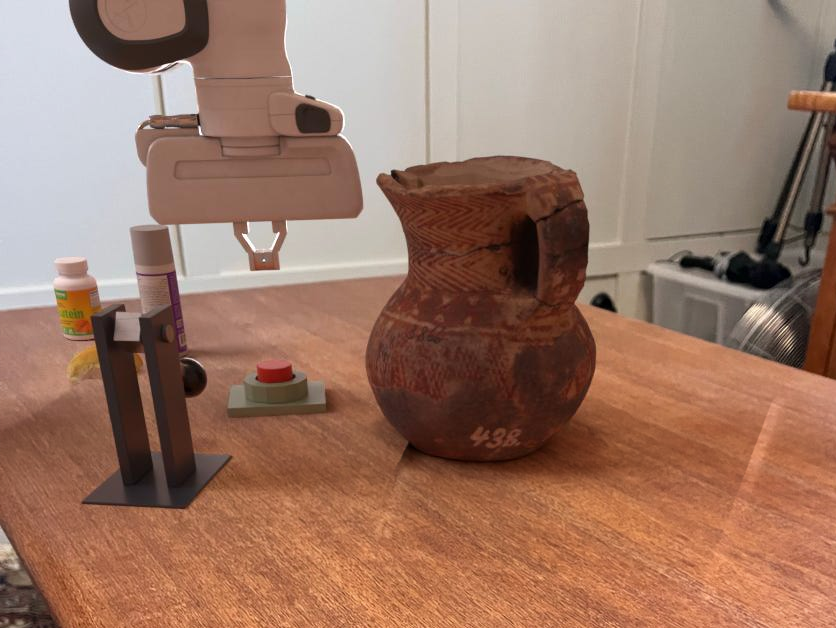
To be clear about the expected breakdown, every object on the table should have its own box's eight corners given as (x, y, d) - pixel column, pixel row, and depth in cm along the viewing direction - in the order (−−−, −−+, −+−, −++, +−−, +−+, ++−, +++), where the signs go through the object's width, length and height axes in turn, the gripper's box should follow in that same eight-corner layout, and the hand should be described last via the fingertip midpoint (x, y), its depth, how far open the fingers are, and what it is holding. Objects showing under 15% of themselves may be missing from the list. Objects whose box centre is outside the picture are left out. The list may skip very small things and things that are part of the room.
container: (171, 346, 131) (152, 223, 123) (195, 352, 129) (177, 226, 121) (142, 355, 128) (120, 228, 120) (166, 361, 125) (145, 232, 118)
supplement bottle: (56, 340, 134) (39, 263, 129) (76, 329, 139) (61, 255, 134) (94, 341, 133) (79, 264, 128) (113, 331, 138) (99, 256, 133)
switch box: (229, 429, 104) (224, 391, 102) (233, 404, 111) (228, 368, 109) (327, 423, 105) (324, 386, 103) (325, 400, 112) (322, 364, 110)
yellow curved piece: (148, 366, 123) (143, 333, 121) (136, 389, 116) (129, 353, 114) (78, 368, 123) (71, 335, 120) (61, 391, 115) (53, 356, 113)
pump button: (257, 386, 104) (255, 369, 104) (258, 376, 108) (256, 360, 107) (293, 385, 105) (291, 368, 104) (293, 375, 108) (291, 358, 107)
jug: (333, 461, 96) (310, 173, 83) (419, 396, 113) (411, 148, 100) (557, 492, 90) (570, 186, 77) (613, 418, 107) (631, 157, 94)
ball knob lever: (174, 402, 95) (177, 365, 96) (211, 403, 95) (214, 366, 95) (104, 347, 81) (108, 303, 82) (147, 348, 81) (151, 305, 81)
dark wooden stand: (141, 465, 95) (109, 292, 87) (234, 469, 94) (210, 295, 86) (84, 517, 85) (42, 327, 77) (187, 523, 84) (155, 330, 76)
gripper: (126, 117, 89) (153, 280, 96) (359, 113, 92) (368, 271, 99) (135, 112, 95) (161, 267, 102) (355, 108, 97) (364, 259, 104)
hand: (265, 269), depth 100 cm, fingers closed
